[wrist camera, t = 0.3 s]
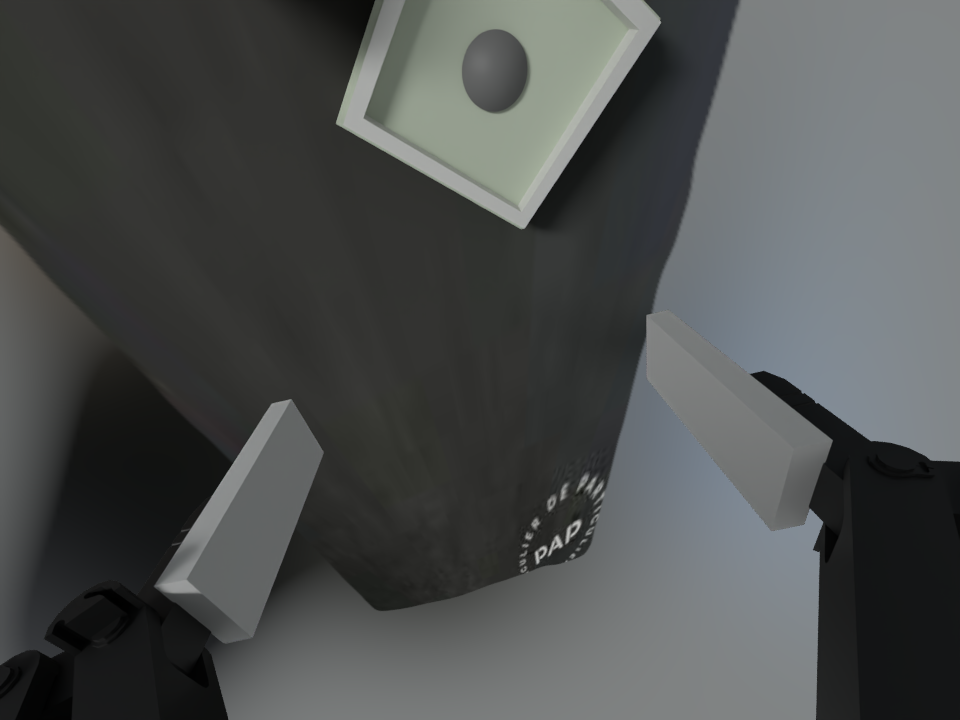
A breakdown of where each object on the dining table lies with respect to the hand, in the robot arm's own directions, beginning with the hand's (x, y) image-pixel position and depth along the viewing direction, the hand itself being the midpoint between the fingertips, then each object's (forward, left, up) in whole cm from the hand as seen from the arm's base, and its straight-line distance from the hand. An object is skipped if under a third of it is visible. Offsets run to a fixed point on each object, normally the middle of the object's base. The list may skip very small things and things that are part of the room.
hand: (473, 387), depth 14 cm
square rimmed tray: (-9, 0, -25) cm, 26 cm away
